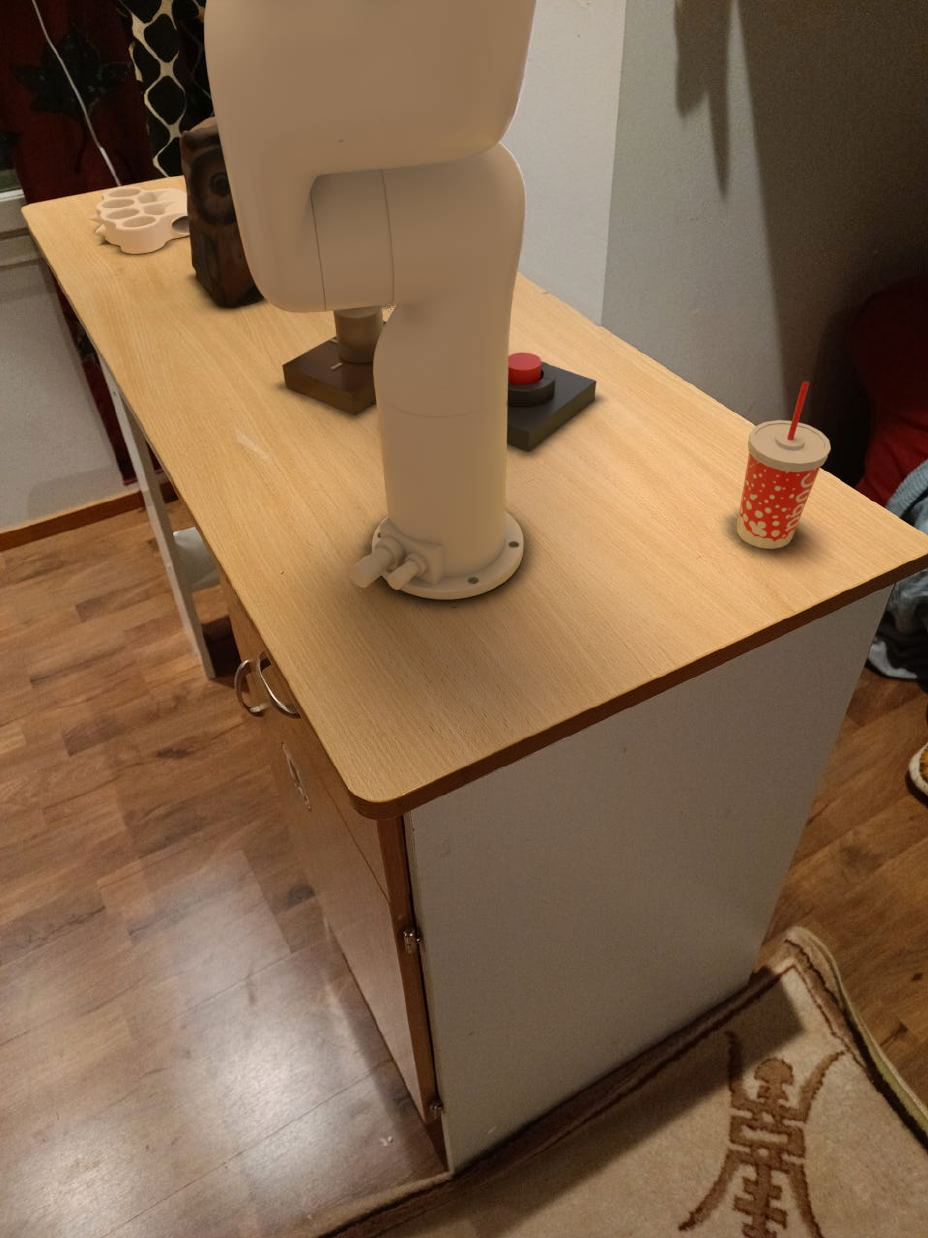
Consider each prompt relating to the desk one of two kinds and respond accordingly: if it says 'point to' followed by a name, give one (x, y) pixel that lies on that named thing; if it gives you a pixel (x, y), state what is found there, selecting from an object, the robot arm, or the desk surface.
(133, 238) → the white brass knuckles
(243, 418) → the desk surface
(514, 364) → the power button
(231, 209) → the owl
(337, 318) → the dimmer knob
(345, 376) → the dimmer panel
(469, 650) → the desk surface
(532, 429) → the switch block
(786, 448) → the beverage cup
